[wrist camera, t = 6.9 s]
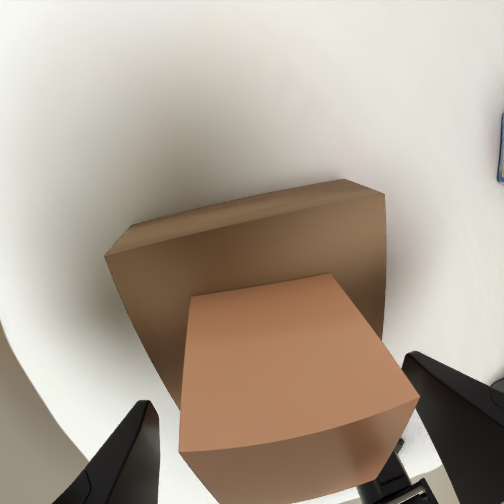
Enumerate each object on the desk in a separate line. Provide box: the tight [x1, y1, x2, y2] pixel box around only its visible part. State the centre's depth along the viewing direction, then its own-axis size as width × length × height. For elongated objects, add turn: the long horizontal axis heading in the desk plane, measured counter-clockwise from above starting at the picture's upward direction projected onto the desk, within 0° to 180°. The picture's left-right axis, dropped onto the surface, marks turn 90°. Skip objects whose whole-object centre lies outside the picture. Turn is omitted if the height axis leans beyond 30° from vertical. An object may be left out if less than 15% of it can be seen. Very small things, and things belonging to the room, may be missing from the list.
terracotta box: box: [179, 273, 420, 504], centre depth 8 cm, size 5×5×6 cm
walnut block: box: [104, 179, 386, 410], centre depth 13 cm, size 10×10×4 cm
